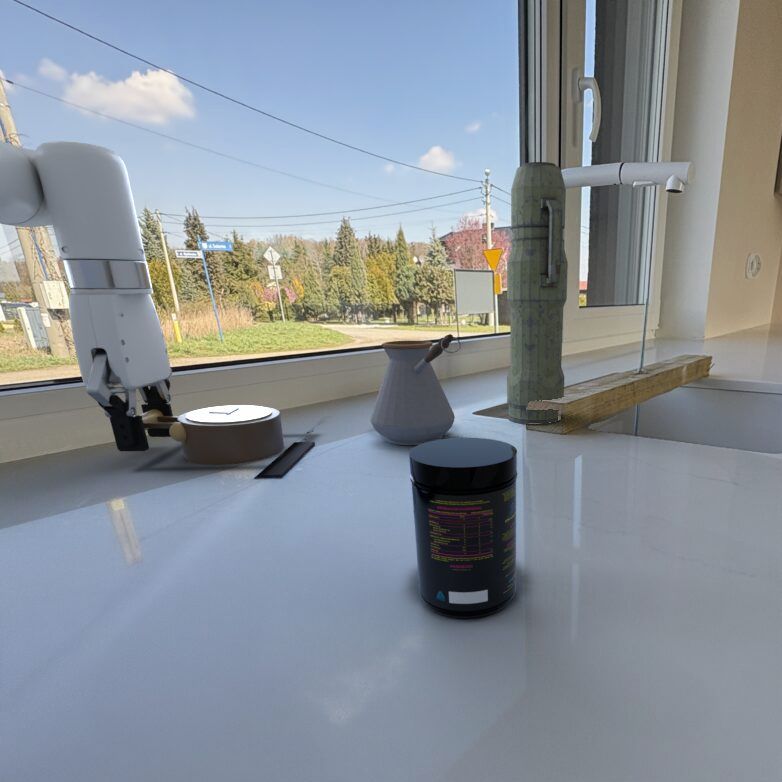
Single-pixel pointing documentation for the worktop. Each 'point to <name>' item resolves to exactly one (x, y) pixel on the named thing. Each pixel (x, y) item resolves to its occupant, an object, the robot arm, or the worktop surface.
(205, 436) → the clock
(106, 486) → the worktop surface
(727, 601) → the worktop surface
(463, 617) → the supplement container
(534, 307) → the thermos
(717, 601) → the worktop surface
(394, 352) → the coffee pot
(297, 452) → the mat
